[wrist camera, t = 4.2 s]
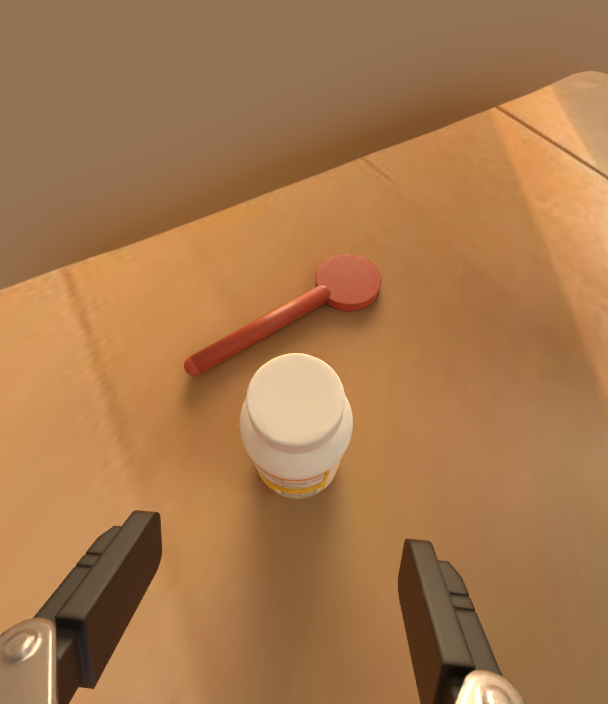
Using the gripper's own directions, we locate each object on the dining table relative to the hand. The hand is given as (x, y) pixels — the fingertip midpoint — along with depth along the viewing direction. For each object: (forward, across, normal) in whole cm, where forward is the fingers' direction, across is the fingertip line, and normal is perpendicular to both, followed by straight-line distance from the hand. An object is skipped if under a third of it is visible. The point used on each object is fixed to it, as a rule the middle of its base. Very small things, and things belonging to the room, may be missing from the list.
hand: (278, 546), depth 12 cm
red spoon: (+18, +2, -4) cm, 18 cm away
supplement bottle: (+11, 0, +3) cm, 11 cm away
